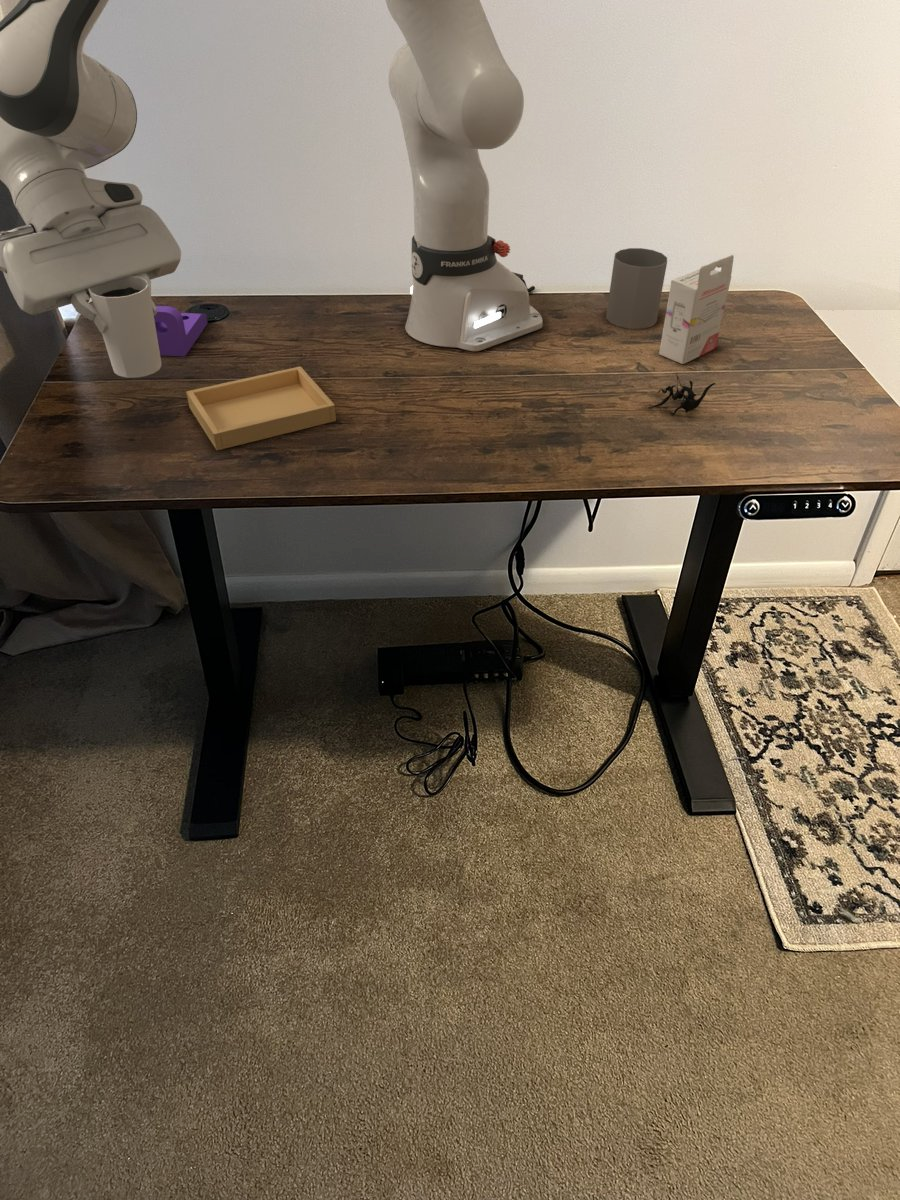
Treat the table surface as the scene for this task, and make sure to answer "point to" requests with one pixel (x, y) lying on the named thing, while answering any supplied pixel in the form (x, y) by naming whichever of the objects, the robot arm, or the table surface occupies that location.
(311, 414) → the tray
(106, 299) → the white tumbler
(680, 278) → the ink cartridge box
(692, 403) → the creature
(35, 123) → the robot arm
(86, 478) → the table surface
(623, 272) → the cup
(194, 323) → the bracket
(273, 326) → the table surface
